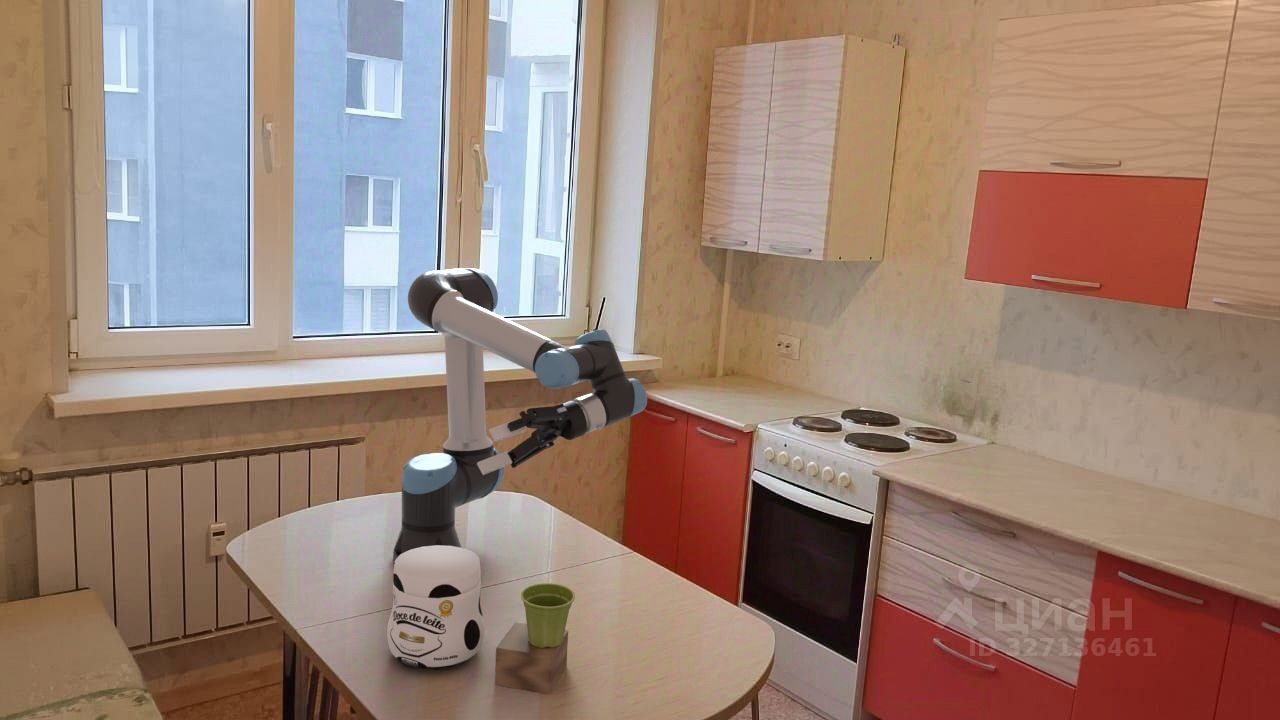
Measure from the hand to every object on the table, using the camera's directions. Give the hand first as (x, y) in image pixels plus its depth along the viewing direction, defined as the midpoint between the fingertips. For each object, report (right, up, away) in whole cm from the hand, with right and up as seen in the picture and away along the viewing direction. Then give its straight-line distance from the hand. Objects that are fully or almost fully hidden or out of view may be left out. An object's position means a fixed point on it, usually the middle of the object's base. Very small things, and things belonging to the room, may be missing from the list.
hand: (486, 452), depth 187 cm
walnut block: (+10, -38, -15) cm, 42 cm away
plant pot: (+13, -32, -17) cm, 38 cm away
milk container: (-8, -36, -10) cm, 38 cm away
